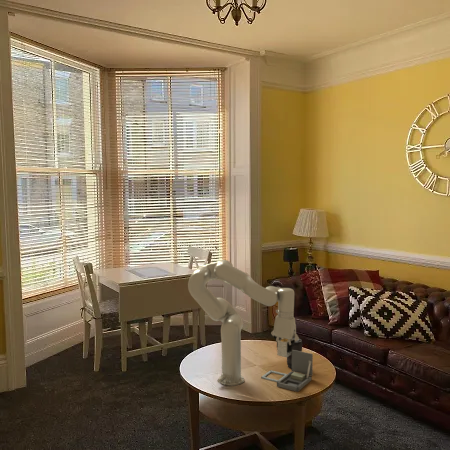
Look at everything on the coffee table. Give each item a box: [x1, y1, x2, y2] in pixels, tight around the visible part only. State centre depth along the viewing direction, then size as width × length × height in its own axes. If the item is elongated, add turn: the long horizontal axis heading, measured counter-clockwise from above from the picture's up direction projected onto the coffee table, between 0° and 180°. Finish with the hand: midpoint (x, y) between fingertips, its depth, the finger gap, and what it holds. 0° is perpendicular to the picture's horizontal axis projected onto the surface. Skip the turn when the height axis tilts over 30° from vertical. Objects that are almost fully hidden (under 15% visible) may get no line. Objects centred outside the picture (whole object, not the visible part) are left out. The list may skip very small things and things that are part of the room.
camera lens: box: [286, 337, 303, 370], centre depth 256 cm, size 8×8×15 cm
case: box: [276, 350, 314, 393], centre depth 235 cm, size 17×11×14 cm, turn 147°
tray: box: [260, 370, 288, 383], centre depth 243 cm, size 10×10×1 cm
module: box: [276, 338, 291, 359], centre depth 234 cm, size 5×5×8 cm
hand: (284, 350), depth 234 cm, fingers closed on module, 5 cm apart
